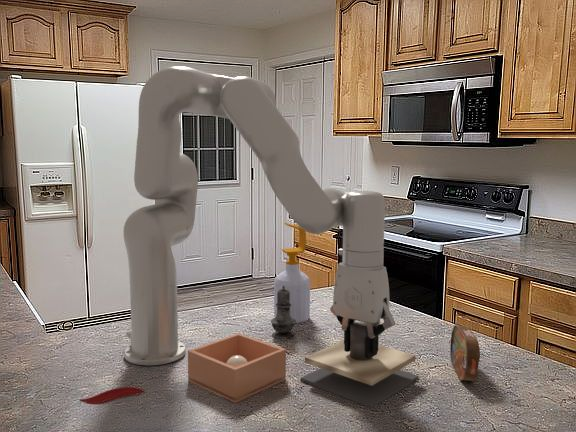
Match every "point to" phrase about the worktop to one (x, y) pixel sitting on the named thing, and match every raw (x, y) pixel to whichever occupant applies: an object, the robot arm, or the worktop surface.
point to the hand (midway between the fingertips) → (360, 352)
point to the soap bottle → (295, 282)
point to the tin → (464, 353)
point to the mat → (360, 386)
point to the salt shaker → (283, 317)
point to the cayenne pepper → (113, 395)
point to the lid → (360, 358)
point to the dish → (236, 366)
